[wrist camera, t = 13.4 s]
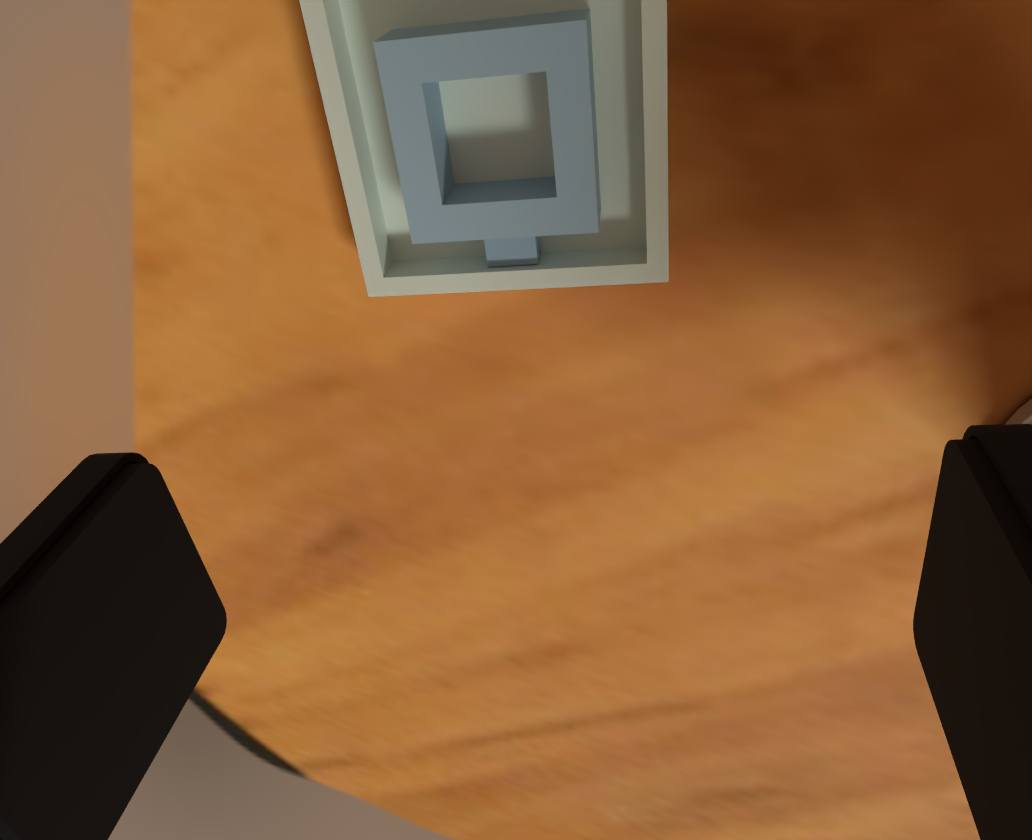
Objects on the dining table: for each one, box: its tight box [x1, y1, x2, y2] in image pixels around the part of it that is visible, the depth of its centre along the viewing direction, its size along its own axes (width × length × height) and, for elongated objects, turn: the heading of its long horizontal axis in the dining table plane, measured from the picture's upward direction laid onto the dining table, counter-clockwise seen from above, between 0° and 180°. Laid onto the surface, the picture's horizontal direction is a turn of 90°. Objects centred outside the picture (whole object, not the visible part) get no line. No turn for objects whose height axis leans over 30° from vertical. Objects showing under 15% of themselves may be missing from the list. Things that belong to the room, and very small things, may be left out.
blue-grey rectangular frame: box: [373, 9, 601, 267], centre depth 29 cm, size 7×9×2 cm
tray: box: [299, 0, 669, 297], centre depth 29 cm, size 12×12×2 cm
